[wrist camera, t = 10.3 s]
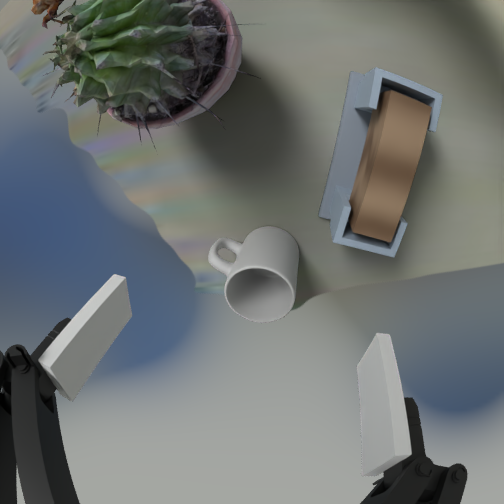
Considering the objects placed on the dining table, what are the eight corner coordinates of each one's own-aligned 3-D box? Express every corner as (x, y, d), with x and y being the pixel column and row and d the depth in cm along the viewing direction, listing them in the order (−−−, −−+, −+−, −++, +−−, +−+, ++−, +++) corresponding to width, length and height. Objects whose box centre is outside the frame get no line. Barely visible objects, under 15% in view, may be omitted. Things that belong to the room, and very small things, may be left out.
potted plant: (232, 161, 36) (125, 247, 14) (125, 98, 33) (-22, 122, 12) (309, 53, 27) (314, -50, 6) (186, -4, 24) (65, -72, 3)
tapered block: (375, 93, 25) (391, 90, 20) (410, 106, 24) (431, 107, 19) (345, 211, 32) (352, 232, 27) (378, 221, 32) (390, 242, 27)
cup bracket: (350, 71, 27) (364, 59, 19) (420, 97, 26) (452, 95, 19) (318, 213, 37) (321, 243, 29) (383, 230, 36) (401, 263, 29)
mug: (310, 242, 40) (309, 287, 30) (282, 284, 44) (274, 333, 34) (235, 204, 39) (211, 237, 29) (213, 250, 43) (188, 291, 34)
